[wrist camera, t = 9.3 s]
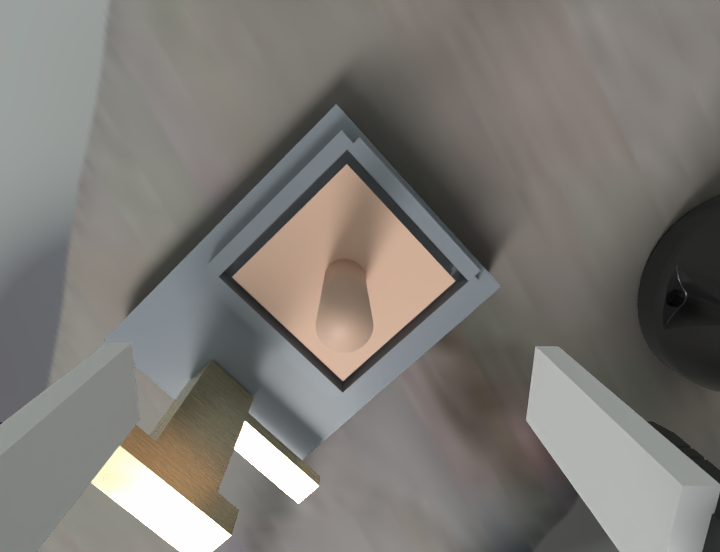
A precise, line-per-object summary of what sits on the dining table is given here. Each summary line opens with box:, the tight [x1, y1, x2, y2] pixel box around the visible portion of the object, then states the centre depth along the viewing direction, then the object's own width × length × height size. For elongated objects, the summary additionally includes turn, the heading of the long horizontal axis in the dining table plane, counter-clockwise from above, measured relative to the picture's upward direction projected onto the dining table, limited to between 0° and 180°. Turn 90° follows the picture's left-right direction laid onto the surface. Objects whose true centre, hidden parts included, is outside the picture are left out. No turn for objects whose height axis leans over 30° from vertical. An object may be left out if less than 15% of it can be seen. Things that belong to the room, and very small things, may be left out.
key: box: [91, 360, 320, 552], centre depth 27 cm, size 12×2×11 cm, turn 43°
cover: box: [232, 164, 455, 381], centre depth 25 cm, size 10×10×10 cm
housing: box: [104, 104, 501, 477], centre depth 31 cm, size 22×16×4 cm
